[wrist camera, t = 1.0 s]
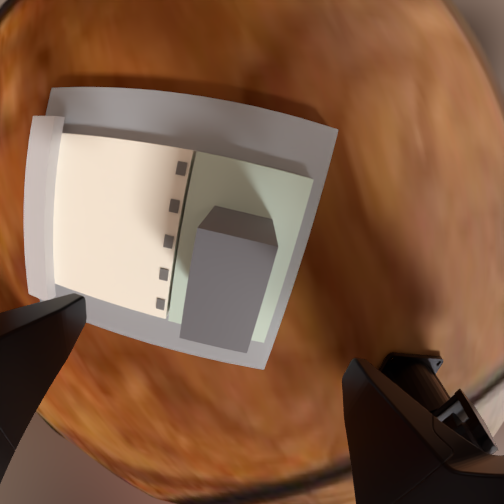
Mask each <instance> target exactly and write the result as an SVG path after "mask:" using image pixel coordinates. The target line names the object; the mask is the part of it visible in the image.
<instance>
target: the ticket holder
mask: <svg viewBox="0 0 504 504" xmlns="http://www.w3.org/2000/svg"><path fill="white" fill-rule="evenodd" d="M337 134H338V129H335V128H332V127H329V126H326V125H322V124H319V123H316V122H313V121H309V120H306V119H302V118H299V117H295V116H292V115H288V114H284V113H280V112H276V111H272V110H268V109H264V108H260V107H255V106H251V105H246V104H242V103H237V102H232V101H226V100H221V99H215V98H210V97H203V96H197V95H190V94H183V93H175V92H166V91H157V90H146V89H132V88H113V87H59V88H52V89H51V93H50V97H49V101H48V106H47V111H46V116H33V120H32V125H31V131H30V138H29V145H28V153H27V162H26V173H25V188H24V248H25V263H26V274H27V283H28V291H29V294H30V295H32V296H35V297H37V298H39V299H40V302H42V301H46V300H49V299H53V298H57V297H61V296H64V295H68V294H72V293H76V294H79V295H82V296H84V297H85V300H86V314H87V319H86V322H87V323H90V324H92V325H95V326H98V327H101V328H104V329H107V330H109V331H112V332H115V333H118V334H121V335H125V336H128V337H131V338H134V339H137V340H141V341H144V342H147V343H151V344H154V345H158V346H161V347H165V348H168V349H172V350H176V351H180V352H183V353H187V354H191V355H195V356H200V357H204V358H208V359H212V360H217V361H222V362H226V363H231V364H236V365H241V366H246V367H251V368H257V369H262V370H264V368H265V365H266V363H267V360H268V357H269V354H270V352H271V349H272V346H273V343H274V341H275V338H276V335H277V332H278V329H279V326H280V324H281V321H282V318H283V315H284V312H285V309H286V306H287V303H288V300H289V297H290V294H291V291H292V288H293V285H294V282H295V279H296V276H297V273H298V270H299V267H300V263H301V260H302V257H303V254H304V251H305V248H306V244H307V241H308V238H309V234H310V231H311V228H312V225H313V221H314V218H315V214H316V211H317V208H318V204H319V201H320V197H321V194H322V190H323V186H324V183H325V179H326V176H327V172H328V168H329V165H330V161H331V157H332V153H333V149H334V146H335V142H336V138H337ZM196 152H204V153H209V154H214V155H219V156H224V157H228V158H233V159H237V160H242V161H246V162H250V163H255V164H259V165H263V166H267V167H271V168H275V169H279V170H283V171H286V172H290V173H294V174H298V175H301V176H305V177H308V178H312V179H314V181H313V184H312V188H311V192H310V195H309V199H308V202H307V206H306V209H305V213H304V216H303V220H302V223H301V227H300V230H299V233H298V237H297V240H296V244H295V247H294V250H293V254H292V257H291V260H290V263H289V267H288V270H287V273H286V276H285V280H284V283H283V286H282V289H281V292H280V296H279V299H278V302H277V305H276V308H275V311H274V314H273V317H272V320H271V323H270V326H269V329H268V332H267V335H266V338H265V341H264V343H262V342H257V341H252V340H251V342H250V345H249V348H248V351H247V353H243V352H238V351H233V350H228V349H224V348H219V347H215V346H210V345H206V344H202V343H198V342H194V341H190V340H186V339H182V338H179V337H180V330H181V324H178V323H175V322H171V321H168V318H169V310H170V301H171V294H172V286H173V279H174V272H175V265H176V258H177V252H178V245H179V239H180V233H181V228H182V222H183V216H184V211H185V205H186V200H187V195H188V190H189V185H190V180H191V175H192V170H193V166H194V161H195V156H196Z"/></svg>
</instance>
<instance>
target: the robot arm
mask: <svg viewBox="0 0 504 504" xmlns="http://www.w3.org/2000/svg"><path fill="white" fill-rule="evenodd" d="M86 319H87V314H86V300H85V297H84V296H82V295H79V294H76V293H72V294H68V295H64V296H61V297H57V298H53V299H49V300H46V301H42V302H38V303H35V304H31V305H27V306H24V307H20V308H16V309H12V310H9V311H5V312H1V313H0V483H1V480H2V478H3V476H4V474H5V471H6V469H7V467H8V465H9V463H10V461H11V458H12V456H13V454H14V452H15V450H16V448H17V446H18V444H19V442H20V440H21V438H22V436H23V434H24V432H25V430H26V428H27V426H28V424H29V423H30V421H31V419H32V417H33V415H34V413H35V412H36V410H37V408H38V406H39V405H40V403H41V401H42V399H43V398H44V396H45V394H46V392H47V391H48V389H49V387H50V386H51V384H52V382H53V381H54V379H55V377H56V376H57V374H58V373H59V371H60V369H61V368H62V366H63V365H64V363H65V362H66V360H67V358H68V356H69V355H70V353H71V351H72V349H73V347H74V345H75V343H76V341H77V339H78V337H79V335H80V333H81V331H82V329H83V327H84V325H85V323H86ZM392 358H393V359H392ZM442 363H443V359H442V358H441V357H440V356H426V355H414V354H403V353H390V354H389V355H387V357H386V358H385V360H384V362H383V364H382V365H381V367H380V369H379V370H378V369H376V368H375V367H374V366H373V365H372V364H370V363H369V362H368V361H367V360H365V359H361V358H354V359H352V361H351V362H350V364H349V366H348V368H347V370H346V372H345V373H344V375H343V378H342V390H343V407H344V420H345V427H346V433H347V440H348V446H349V453H350V460H351V467H352V474H353V482H354V490H355V499H356V504H504V455H503V456H497V455H492V454H494V453H495V452H496V451H497V450H498V448H497V445H496V443H495V441H494V439H493V437H492V435H491V433H490V431H489V429H488V427H487V425H486V424H485V422H484V420H483V419H482V417H481V416H480V414H479V413H478V411H477V410H476V408H475V407H474V405H473V404H472V403H471V401H470V400H469V399H468V398H467V396H466V395H465V394H464V393H463V392H462V390H461V389H459V390H458V391H456V392H455V395H453V396H452V397H451V398H450V396H449V395H448V393H447V392H446V390H445V388H444V387H443V385H442V384H441V382H440V381H439V379H438V377H437V376H436V373H437V371H438V369H439V368H440V366H441V365H442Z"/></svg>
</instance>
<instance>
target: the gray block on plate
mask: <svg viewBox="0 0 504 504" xmlns="http://www.w3.org/2000/svg"><path fill="white" fill-rule="evenodd" d="M313 181H314V179H312V178H308V177H305V176H301V175H298V174H294V173H290V172H286V171H283V170H279V169H275V168H271V167H267V166H263V165H259V164H255V163H250V162H246V161H242V160H237V159H233V158H228V157H224V156H219V155H214V154H209V153H204V152H196V156H195V161H194V166H193V170H192V175H191V180H190V185H189V190H188V195H187V200H186V205H185V211H184V216H183V222H182V228H181V233H180V239H179V245H178V252H177V258H176V265H175V272H174V279H173V286H172V294H171V301H170V310H169V318H168V321H171V322H175V323H178V324H181V330H180V337H179V338H182V339H186V340H190V341H194V342H198V343H202V344H206V345H210V346H215V347H219V348H224V349H228V350H233V351H238V352H243V353H247V351H248V348H249V345H250V342H251V340H252V341H257V342H262V343H264V341H265V338H266V335H267V332H268V329H269V326H270V323H271V320H272V317H273V314H274V311H275V308H276V305H277V302H278V299H279V296H280V292H281V289H282V286H283V283H284V280H285V276H286V273H287V270H288V267H289V263H290V260H291V257H292V254H293V250H294V247H295V244H296V240H297V237H298V233H299V230H300V227H301V223H302V220H303V216H304V213H305V209H306V206H307V202H308V199H309V195H310V192H311V188H312V184H313Z"/></svg>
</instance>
